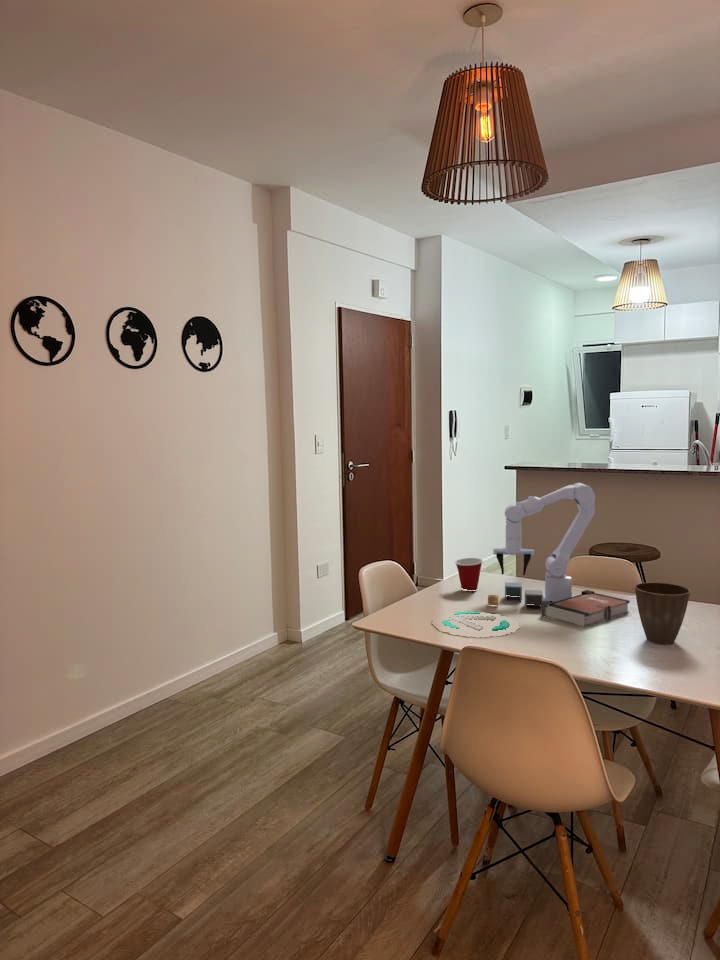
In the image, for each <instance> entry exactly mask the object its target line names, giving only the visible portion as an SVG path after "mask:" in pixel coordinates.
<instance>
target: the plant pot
mask: <svg viewBox="0 0 720 960" xmlns="http://www.w3.org/2000/svg"><path fill="white" fill-rule="evenodd" d="M634 592H635V599H636V604H637V610H638V615H639V618H640V622H641V626H642V630H643V632H644V635H645V637H646V640H647V641H648V642H649V643H652V644H657V645H665V646H667V645H673V644H674V643H675V641H676V639H677V637H678V635H679V632H680V631H681V628H682V625H683V622H684V619H685V615H686V611H687V607H688V603H689V599H690V593H691V590H690V589H689V588H687V587H684V586H682V585H677V584H674V583H665V582H640V583H638V584H635V586H634Z"/></svg>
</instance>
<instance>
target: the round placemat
mask: <svg viewBox="0 0 720 960" xmlns="http://www.w3.org/2000/svg"><path fill="white" fill-rule="evenodd" d="M465 611H466V612H465ZM470 611H471V610H464V611H463V612H461V611H455V612H456V613H455V614H454V615H459V614H469V613H470V614H480V613H481V612H480V611H478V612H474V611H475V610H472V611H471V612H470ZM449 618H451V619H452V620H455V621H458V622H459V623H462V624H464V625H466V626H467V627H471V628H473V629H475V630H478V631H480V630H482V629H483V626H480V625H476V624H475V623H472V622H468V621H465V620H466V619H469V620H472V619H474V620H477V619H478V620H487V621H488V620H491V621H494V620H495V619H496V617H494V616H491V617H489V616H486V617H484V616H480V617H479V616H475V617H474V616H472V617H469V616H467V617H464V616H461V617H459V616H456V617H454V616H453V617H449ZM464 619H465V620H464ZM448 621H450V620H444V621H442V623H443V624H444V625H445V626H449V627H451V628H456V629H459V628H460V627H457V626H456V625H452V624H451V623H450V622H448ZM509 626H510V624H509V622H507V621H506V620H503V621H501V622H500V625H499V626H495V627H494V628H492V631H498V630H503V629H505V630H506V628H508V627H509Z"/></svg>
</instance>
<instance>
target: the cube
mask: <svg viewBox="0 0 720 960" xmlns="http://www.w3.org/2000/svg"><path fill="white" fill-rule="evenodd" d="M487 596H488V597H487V606H488V605H497V606H498V607H499V595H498V594H489V595H487Z"/></svg>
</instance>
